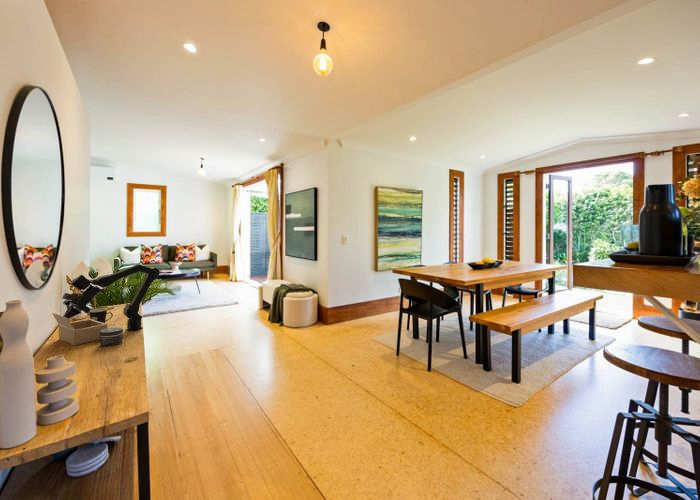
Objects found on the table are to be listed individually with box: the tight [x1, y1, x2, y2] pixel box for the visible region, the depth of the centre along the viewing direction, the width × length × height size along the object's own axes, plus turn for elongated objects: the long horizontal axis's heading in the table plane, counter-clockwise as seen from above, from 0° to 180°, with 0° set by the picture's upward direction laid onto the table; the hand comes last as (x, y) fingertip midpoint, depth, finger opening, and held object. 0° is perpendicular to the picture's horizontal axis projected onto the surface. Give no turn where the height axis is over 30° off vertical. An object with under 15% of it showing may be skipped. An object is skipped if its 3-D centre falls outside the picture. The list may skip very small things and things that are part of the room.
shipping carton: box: [58, 318, 108, 347], centre depth 169 cm, size 15×19×8 cm
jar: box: [99, 326, 124, 348], centre depth 163 cm, size 10×10×8 cm
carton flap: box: [52, 312, 74, 330], centre depth 162 cm, size 1×18×7 cm, turn 60°
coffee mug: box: [88, 308, 113, 324], centre depth 192 cm, size 12×9×10 cm
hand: (62, 320), depth 161 cm, fingers closed, pressing on carton flap
